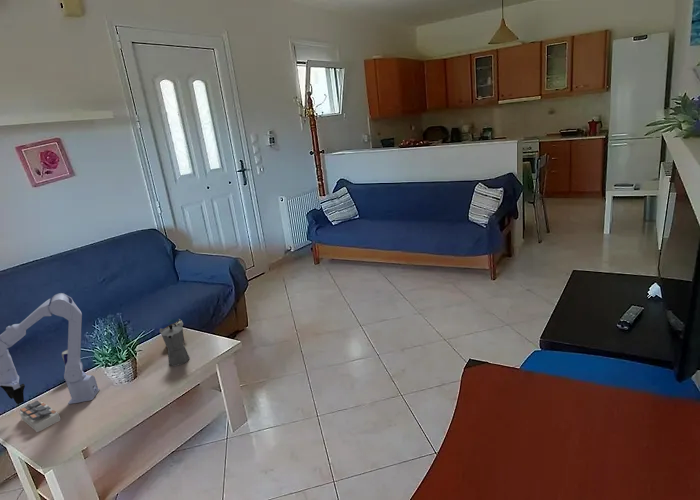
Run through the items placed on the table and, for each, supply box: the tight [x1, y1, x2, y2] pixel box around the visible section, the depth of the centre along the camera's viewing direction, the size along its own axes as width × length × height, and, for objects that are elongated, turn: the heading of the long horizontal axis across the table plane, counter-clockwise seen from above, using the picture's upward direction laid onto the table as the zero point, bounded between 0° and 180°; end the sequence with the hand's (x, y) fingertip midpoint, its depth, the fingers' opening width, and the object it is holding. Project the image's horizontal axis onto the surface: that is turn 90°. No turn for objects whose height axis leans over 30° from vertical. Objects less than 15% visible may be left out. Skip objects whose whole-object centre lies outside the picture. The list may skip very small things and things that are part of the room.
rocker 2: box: [25, 406, 46, 416], centre depth 172 cm, size 6×4×2 cm, turn 143°
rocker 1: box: [20, 400, 41, 414], centre depth 175 cm, size 6×4×2 cm, turn 143°
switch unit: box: [19, 401, 61, 433], centre depth 173 cm, size 8×16×3 cm, turn 53°
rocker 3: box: [29, 409, 52, 420], centre depth 169 cm, size 6×4×2 cm, turn 143°
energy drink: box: [61, 349, 68, 366], centre depth 204 cm, size 5×5×12 cm
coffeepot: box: [160, 323, 191, 367], centre depth 205 cm, size 15×9×18 cm, turn 13°
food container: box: [159, 318, 185, 340], centre depth 224 cm, size 12×6×10 cm, turn 147°
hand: (17, 400), depth 174 cm, fingers open, 7 cm apart
